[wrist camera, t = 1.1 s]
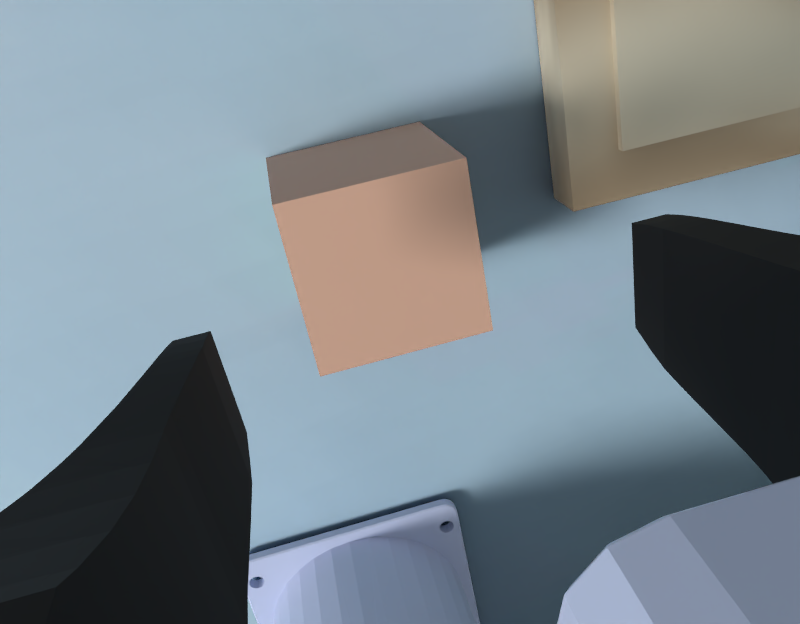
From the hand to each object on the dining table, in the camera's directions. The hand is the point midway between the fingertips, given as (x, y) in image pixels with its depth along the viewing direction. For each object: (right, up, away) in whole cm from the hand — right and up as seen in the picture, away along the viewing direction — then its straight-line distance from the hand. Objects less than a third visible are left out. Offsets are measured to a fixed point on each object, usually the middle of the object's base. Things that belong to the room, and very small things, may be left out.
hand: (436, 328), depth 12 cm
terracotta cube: (-2, +3, +10) cm, 10 cm away
